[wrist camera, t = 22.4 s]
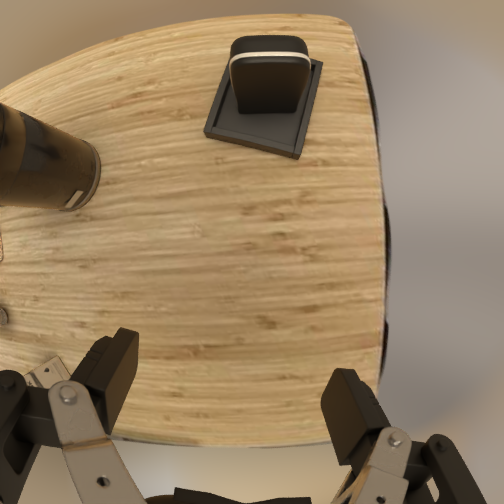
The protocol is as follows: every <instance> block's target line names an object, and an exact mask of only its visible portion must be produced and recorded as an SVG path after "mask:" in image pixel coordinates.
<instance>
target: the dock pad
mask: <svg viewBox="0 0 504 504" xmlns="http://www.w3.org/2000/svg"><path fill="white" fill-rule="evenodd" d="M309 59H310V62H311V69H310V74H309V78H308V81H307V84H306V87H305V89H304V92H303V94H302V96H301V98H300V100H299V103H298V106H297V110H296V112H286V113H247V114H240V113H239V112H238V109H237V102H236V97H235V94H234V91H233V87H232V83H231V78H230V70H229V64H230V59H229V61H228V64H227V66H226V69H225V72H224V74H223V77H222V80H221V82H220V85H219V88H218V90H217V93H216V96H215V99H214V102H213V105H212V107H211V110H210V113H209V116H208V119H207V122H206V125H205V128H204V131H203V132H204V133H205V135H206V137H207V138H212V139H217V140H221V141H226V142H230V143H235V144H239V145H243V146H247V147H251V148H255V149H259V150H263V151H267V152H271V153H275V154H278V155H282V156H286V157H289V158H293V159H296V160H298V159H299V157H300V155H301V152H302V148H303V144H304V140H305V136H306V132H307V128H308V124H309V120H310V116H311V112H312V108H313V104H314V99H315V95H316V91H317V87H318V83H319V79H320V74H321V70H322V66H323V62H321V61H317V60H314V59H311V58H309Z"/></svg>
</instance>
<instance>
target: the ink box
mask: <svg viewBox="0 0 504 504" xmlns="http://www.w3.org/2000/svg"><path fill="white" fill-rule="evenodd" d="M23 377H24V378H25V380H26V383H27V385H28V386H34V387H40V388H48V389H49V388H50V387H51V386H52V385H53V384H55V383H57V382H59V381H63V380H69V378H70V377H71V376H70V375H69V373H68V372H67V370H66V368H65V367H64V365H63V364H62V362H61V360H60V359H59V357H58V356H56V357H54V358H52V359H51V360H49V361H47V362H46V363H44V364H42V365H40V366H39V367H37V368H35V369H34V370H32V371H30V372H29V373H27V374H26V375H24V376H23Z"/></svg>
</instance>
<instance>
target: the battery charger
mask: <svg viewBox="0 0 504 504" xmlns="http://www.w3.org/2000/svg"><path fill="white" fill-rule="evenodd" d="M310 69H311V62H310V59H309V56H308V49H307V46H306V44H305V42H304V41H303V40H302V39H301V38H299V37H296V36H289V35H256V36H244V37H240V38H238V39H236V40H235V41H234V42H233V44H232V45H231V51H230V64H229V70H230V78H231V83H232V87H233V91H234V94H235V97H236V102H237V109H238V112H239V113H240V114H247V113H286V112H296V110H297V106H298V103H299V100H300V98H301V96H302V94H303V92H304V89H305V87H306V84H307V81H308V78H309V74H310Z"/></svg>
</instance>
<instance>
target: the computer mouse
mask: <svg viewBox="0 0 504 504" xmlns="http://www.w3.org/2000/svg"><path fill="white" fill-rule="evenodd" d="M2 256H3V249H2V243H1V235H0V261H1V260H2Z"/></svg>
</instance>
